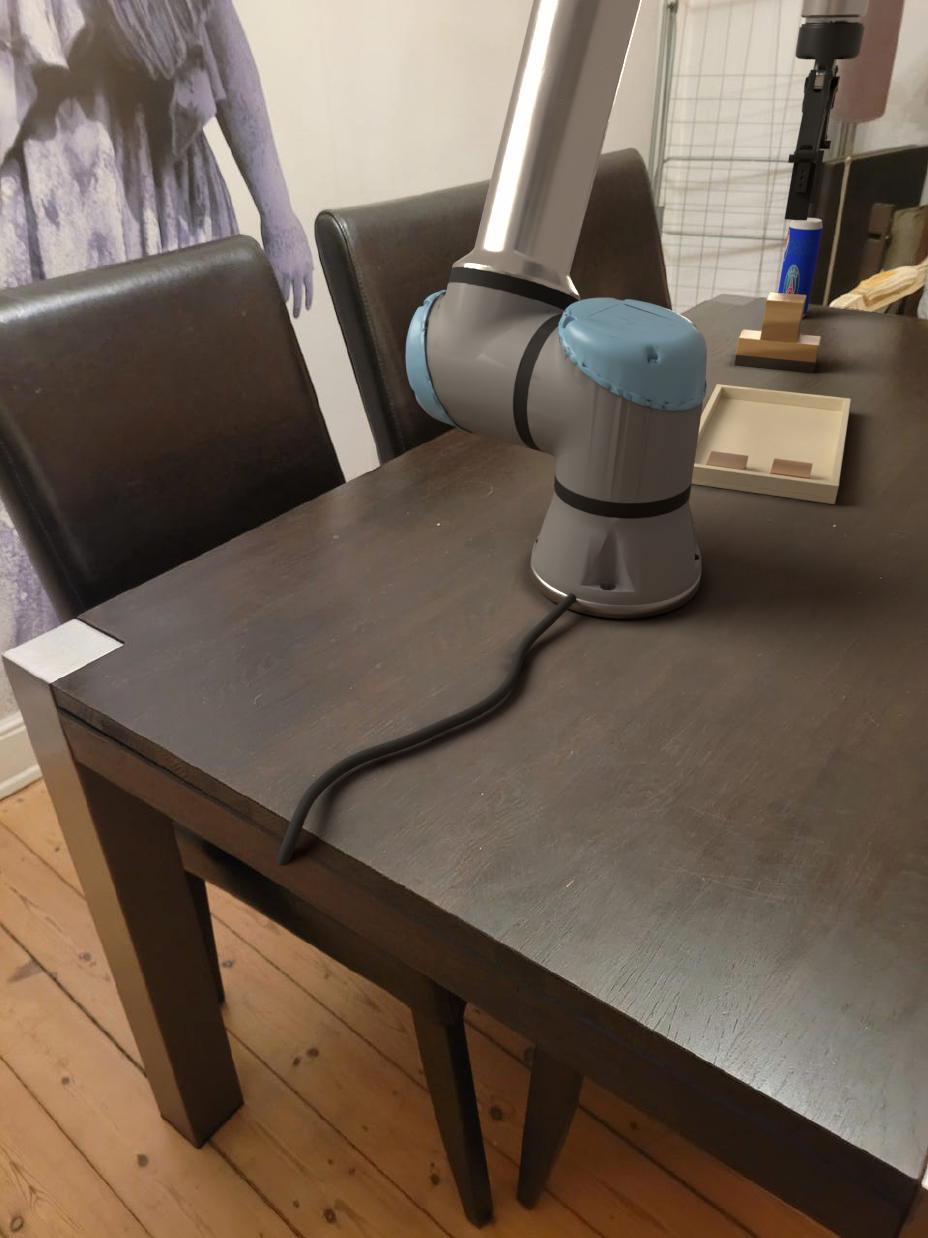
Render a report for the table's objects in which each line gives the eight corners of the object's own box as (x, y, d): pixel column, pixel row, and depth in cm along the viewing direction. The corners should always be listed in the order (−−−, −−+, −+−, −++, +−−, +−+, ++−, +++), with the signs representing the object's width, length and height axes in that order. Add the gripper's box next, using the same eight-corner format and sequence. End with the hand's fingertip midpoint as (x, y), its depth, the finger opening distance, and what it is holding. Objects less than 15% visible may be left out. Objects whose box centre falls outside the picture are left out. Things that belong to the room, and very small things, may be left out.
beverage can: (767, 313, 157) (783, 218, 149) (791, 309, 159) (808, 215, 151) (788, 320, 153) (805, 223, 145) (813, 316, 155) (830, 220, 147)
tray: (834, 504, 96) (838, 485, 95) (674, 481, 101) (676, 463, 100) (847, 414, 117) (851, 398, 116) (714, 399, 122) (716, 383, 121)
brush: (813, 373, 131) (826, 304, 126) (734, 365, 134) (744, 298, 129) (815, 363, 134) (829, 296, 129) (738, 356, 138) (748, 290, 133)
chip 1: (741, 482, 99) (743, 469, 98) (703, 477, 101) (705, 464, 100) (746, 468, 102) (748, 455, 102) (709, 463, 104) (711, 450, 103)
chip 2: (807, 490, 97) (809, 477, 96) (767, 485, 99) (770, 472, 98) (810, 475, 100) (812, 463, 100) (772, 470, 102) (774, 458, 101)
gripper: (862, 20, 101) (823, 229, 112) (869, 19, 120) (835, 197, 132) (790, 21, 103) (760, 225, 115) (808, 20, 122) (781, 194, 134)
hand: (800, 210), depth 123 cm, fingers open, 13 cm apart
